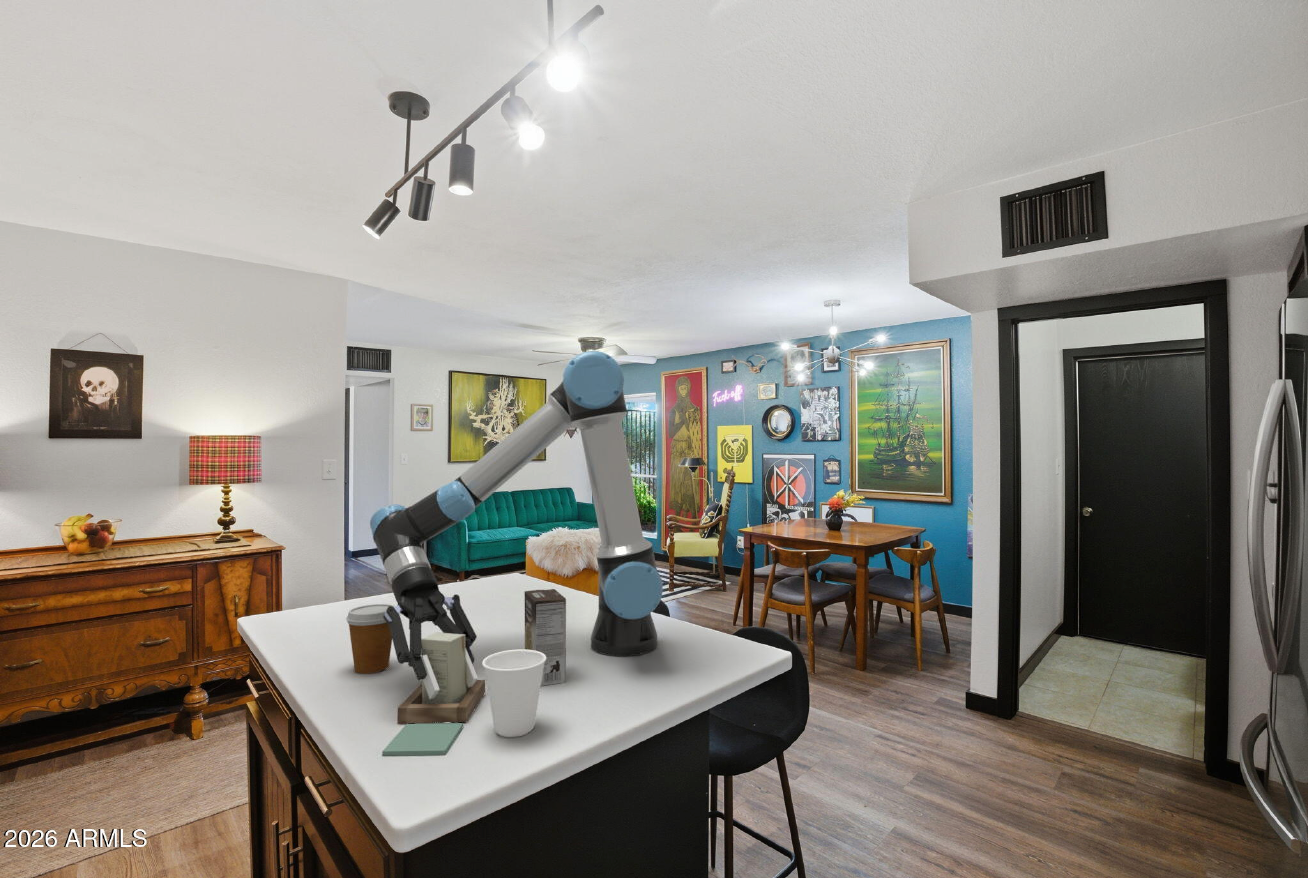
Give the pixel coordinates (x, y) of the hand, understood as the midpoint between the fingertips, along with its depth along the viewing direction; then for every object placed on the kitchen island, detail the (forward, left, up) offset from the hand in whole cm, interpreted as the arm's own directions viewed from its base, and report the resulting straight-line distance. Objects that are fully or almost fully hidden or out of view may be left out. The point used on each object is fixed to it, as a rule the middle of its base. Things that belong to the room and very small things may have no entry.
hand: (454, 688), depth 102 cm
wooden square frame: (+3, -3, -4) cm, 6 cm away
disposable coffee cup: (+24, -23, -5) cm, 33 cm away
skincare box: (+3, -3, -4) cm, 6 cm away
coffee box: (-12, -17, -5) cm, 21 cm away
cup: (-11, +6, -5) cm, 14 cm away
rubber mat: (+2, +9, -4) cm, 10 cm away
